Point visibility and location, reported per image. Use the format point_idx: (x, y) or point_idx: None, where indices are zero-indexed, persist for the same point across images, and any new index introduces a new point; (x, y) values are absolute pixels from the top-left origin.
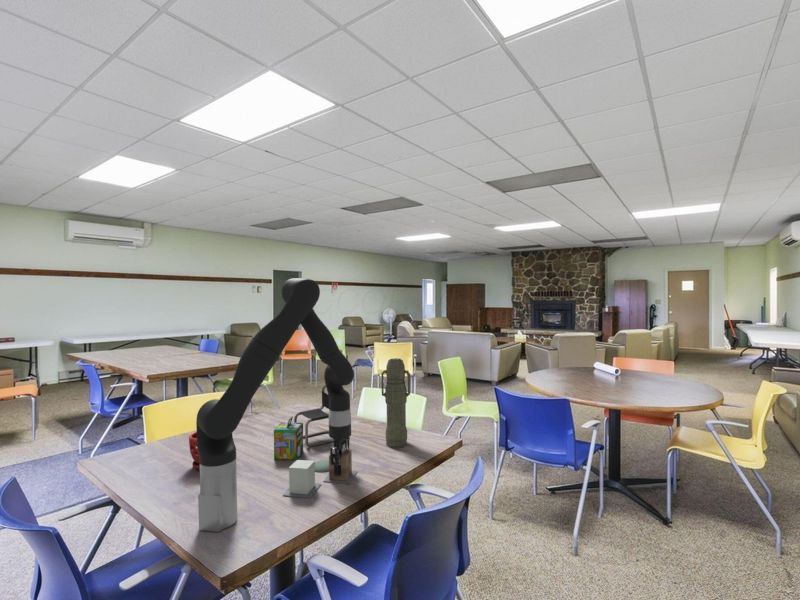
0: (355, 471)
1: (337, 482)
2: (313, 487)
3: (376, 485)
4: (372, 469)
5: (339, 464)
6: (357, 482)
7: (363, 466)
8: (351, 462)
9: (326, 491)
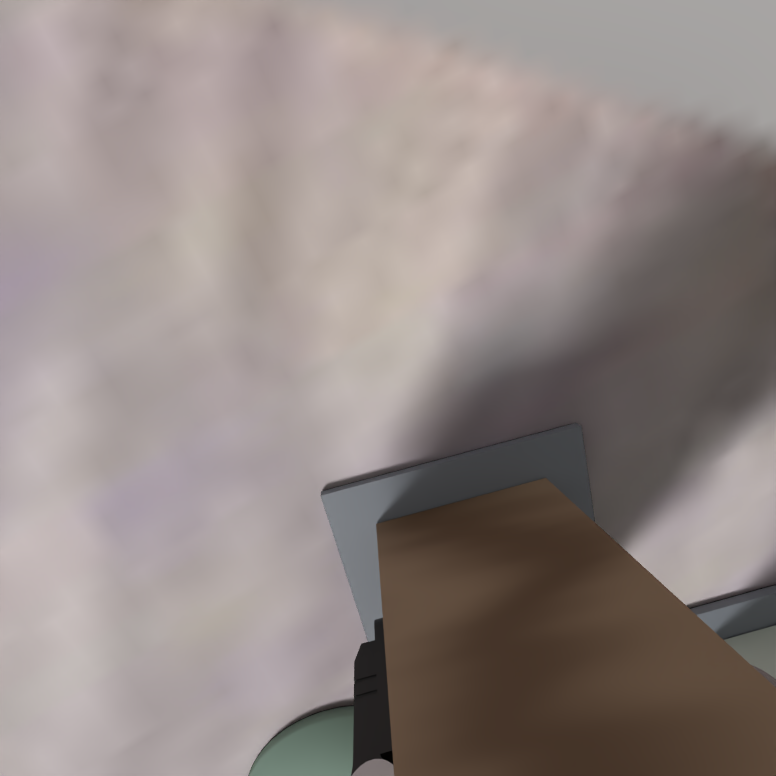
0: (332, 508)
1: None
2: (730, 636)
3: (519, 140)
4: (182, 383)
5: (763, 673)
6: (521, 370)
7: (167, 507)
8: (389, 607)
9: (746, 519)
